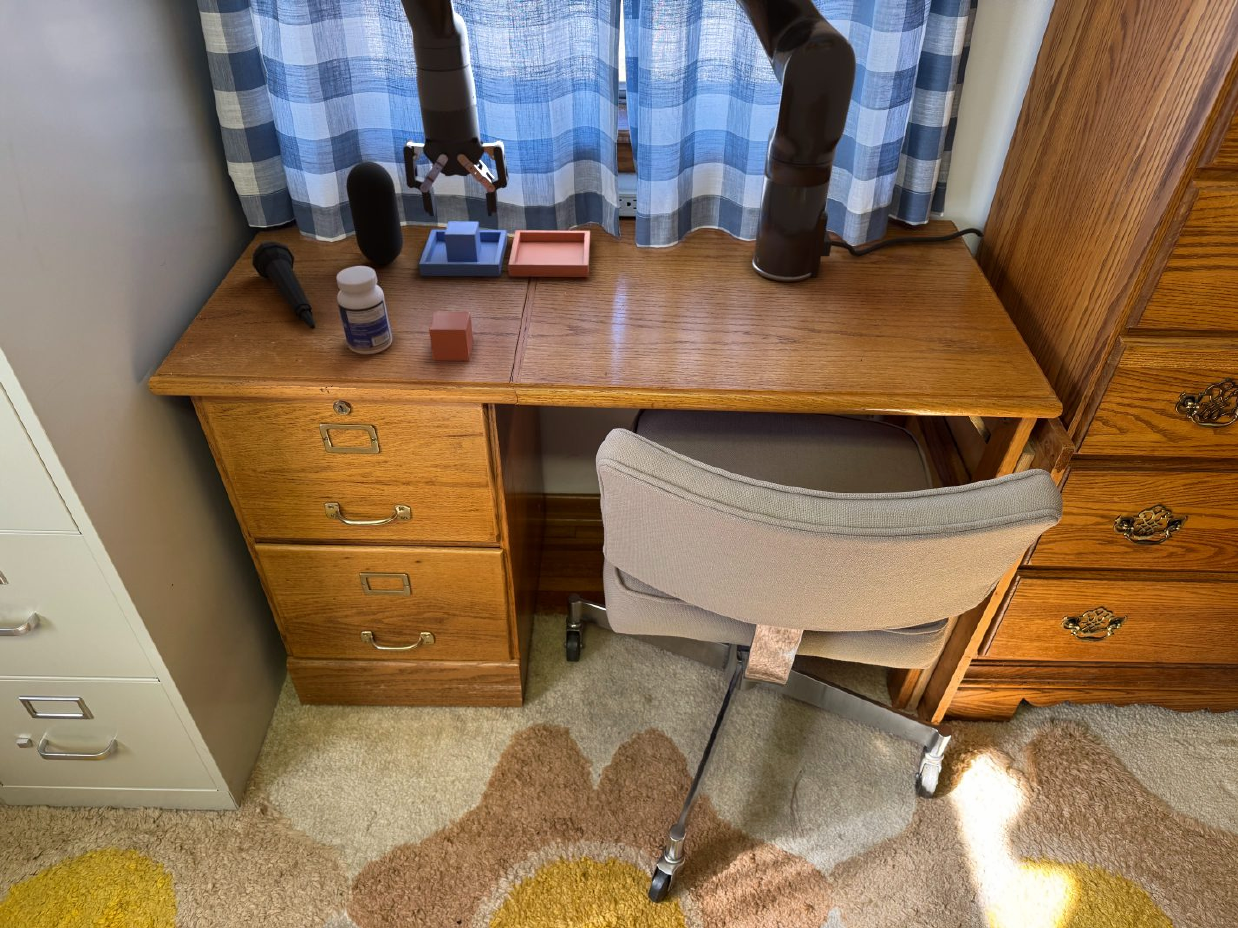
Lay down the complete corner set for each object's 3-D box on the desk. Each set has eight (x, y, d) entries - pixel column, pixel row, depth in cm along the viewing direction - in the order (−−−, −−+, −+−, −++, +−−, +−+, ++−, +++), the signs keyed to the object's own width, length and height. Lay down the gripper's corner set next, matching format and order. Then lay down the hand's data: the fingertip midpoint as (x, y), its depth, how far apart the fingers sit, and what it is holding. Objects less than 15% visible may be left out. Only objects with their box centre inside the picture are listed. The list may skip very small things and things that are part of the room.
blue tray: (507, 241, 133) (506, 230, 132) (499, 276, 125) (498, 264, 123) (433, 240, 133) (431, 229, 132) (420, 275, 124) (418, 264, 123)
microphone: (330, 344, 115) (284, 269, 126) (336, 308, 112) (288, 234, 123) (289, 345, 112) (245, 268, 123) (294, 308, 109) (249, 231, 120)
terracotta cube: (473, 341, 111) (470, 311, 108) (469, 360, 107) (465, 329, 104) (439, 341, 111) (434, 311, 108) (433, 360, 107) (428, 329, 104)
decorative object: (407, 269, 126) (390, 170, 116) (361, 274, 125) (341, 173, 115) (405, 250, 131) (389, 152, 121) (361, 254, 129) (341, 156, 120)
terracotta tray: (590, 242, 134) (590, 230, 132) (588, 277, 125) (588, 265, 123) (516, 241, 133) (515, 230, 132) (509, 276, 125) (508, 264, 123)
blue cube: (481, 249, 130) (478, 221, 127) (477, 262, 127) (474, 234, 124) (451, 249, 130) (448, 221, 127) (447, 262, 127) (443, 234, 124)
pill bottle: (351, 333, 112) (336, 264, 106) (395, 331, 112) (382, 262, 106) (344, 357, 108) (328, 286, 101) (390, 355, 108) (376, 285, 102)
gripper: (389, 109, 111) (409, 225, 122) (497, 108, 111) (508, 225, 122) (400, 91, 117) (418, 204, 128) (503, 91, 117) (513, 204, 127)
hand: (462, 214), depth 125 cm, fingers open, 8 cm apart
